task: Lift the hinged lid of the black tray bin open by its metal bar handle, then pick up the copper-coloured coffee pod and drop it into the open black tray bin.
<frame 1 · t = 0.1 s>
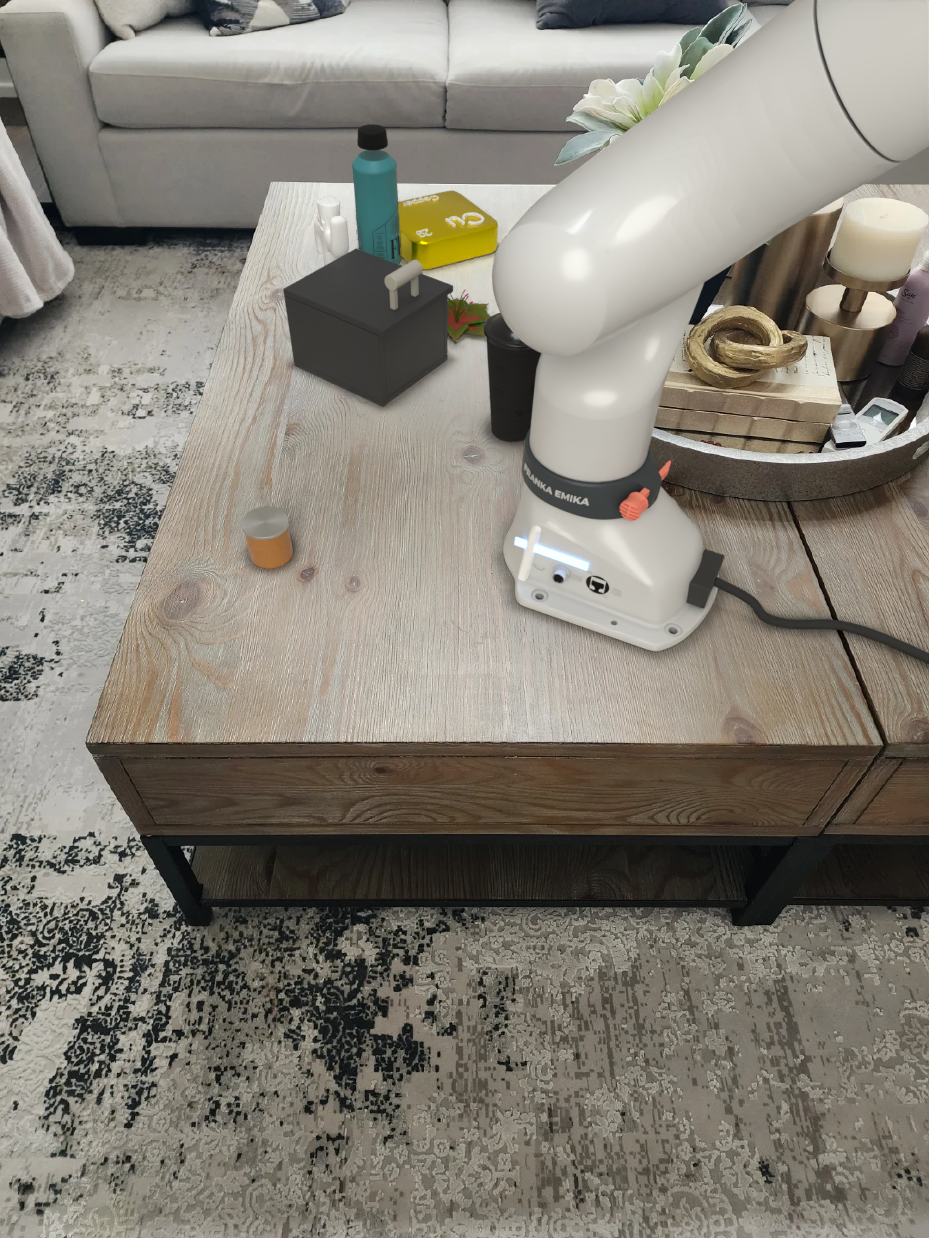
figurine: (338, 308, 122), on the table
lily flower: (456, 324, 120), on the table
drinking cup: (510, 431, 104), on the table
black tray bin: (371, 362, 112), on the table
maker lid: (367, 274, 103), point 12 cm above the table, hinge at 0.0°
beverage bottle: (380, 272, 129), on the table
element tile: (437, 243, 136), on the table
coffee pod: (271, 553, 88), on the table
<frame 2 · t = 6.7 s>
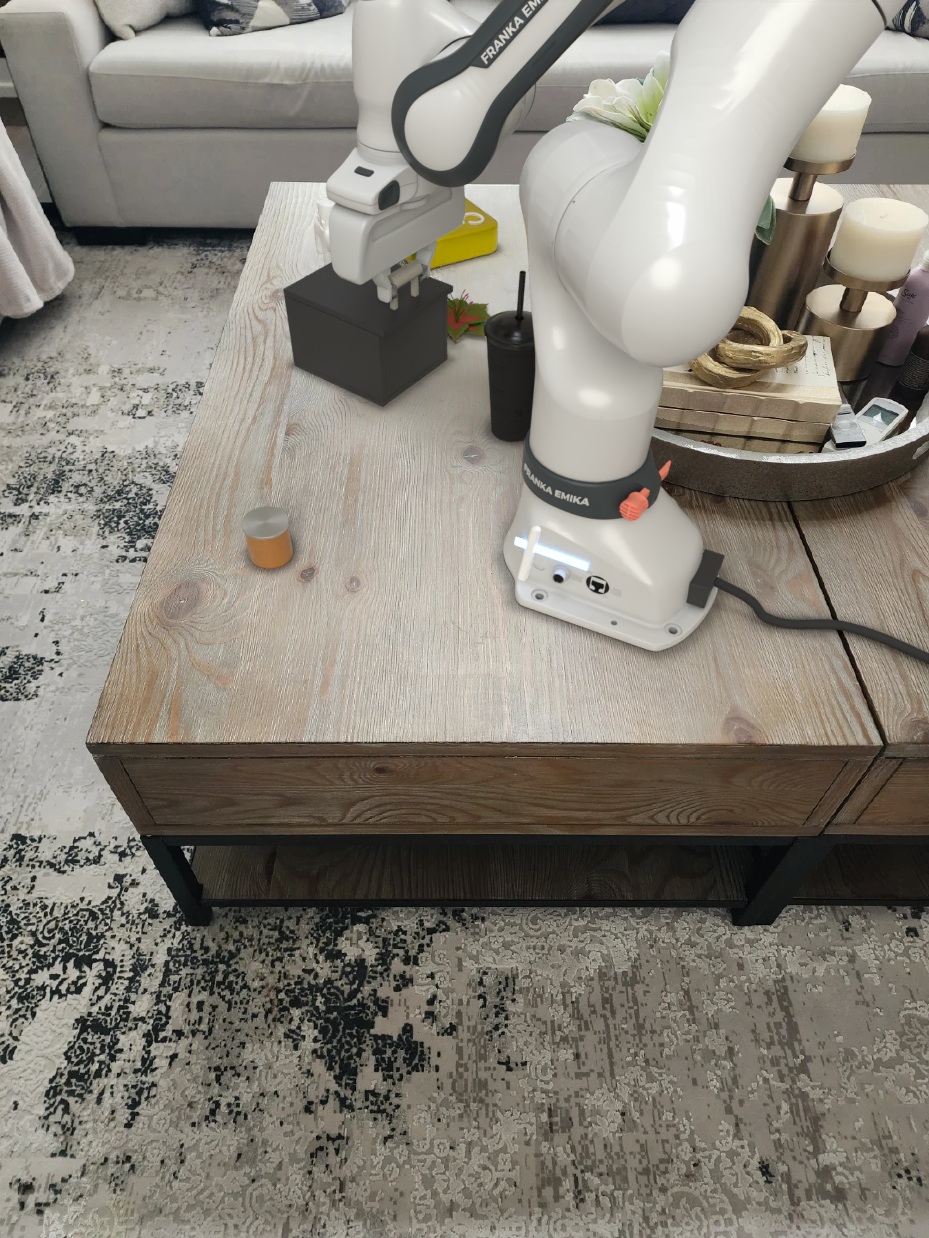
hand: (404, 289, 101), 12 cm above the table, tool pointing down, fingers closed on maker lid, 5 cm apart
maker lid: (367, 274, 103), point 12 cm above the table, hinge at 0.0°, touching gripper
everything else where it was.
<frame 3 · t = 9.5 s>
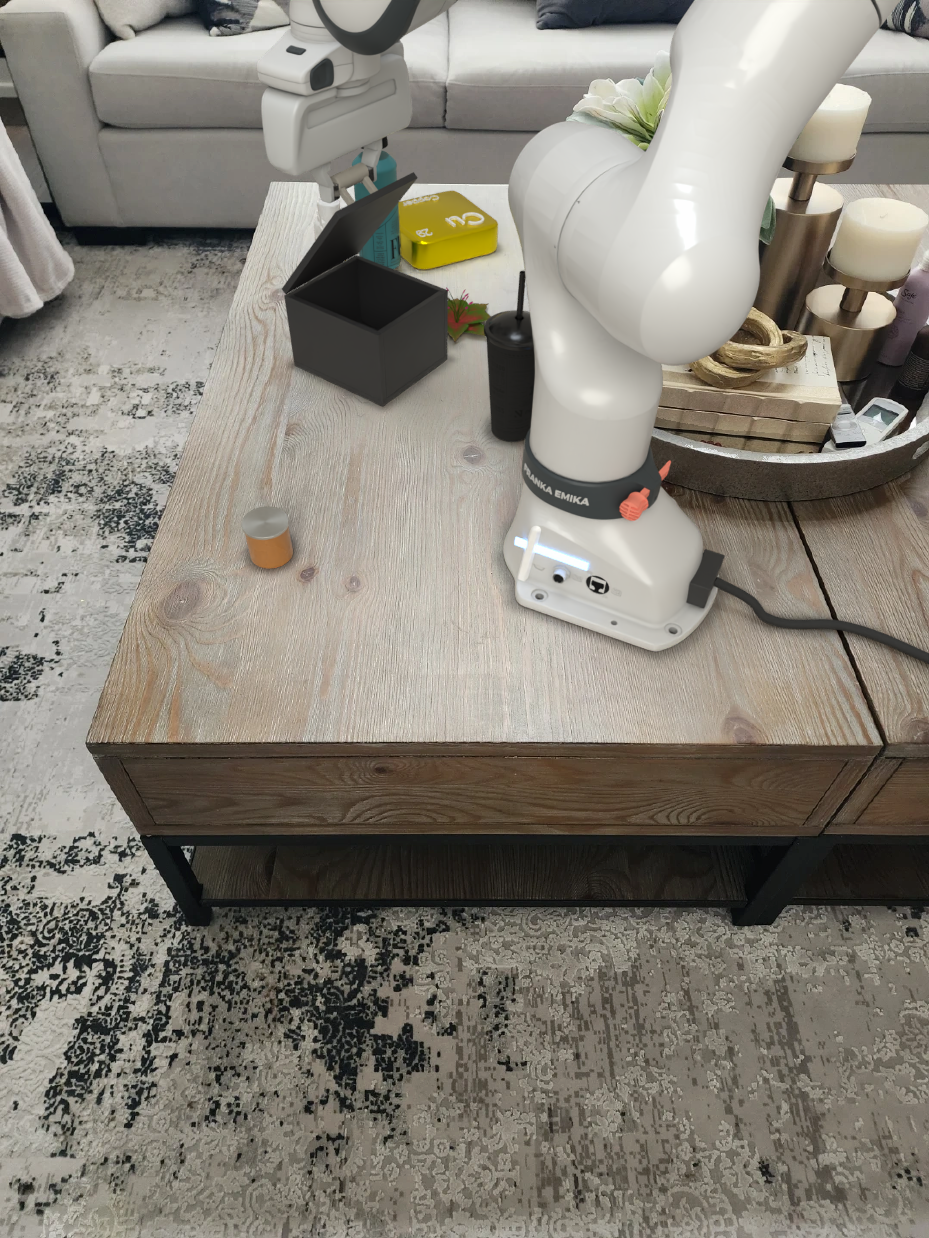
hand: (349, 191, 97), 22 cm above the table, tool pointing down, fingers closed on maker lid, 5 cm apart
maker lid: (336, 219, 101), point 18 cm above the table, hinge at 49.6°, touching gripper
everything else where it was.
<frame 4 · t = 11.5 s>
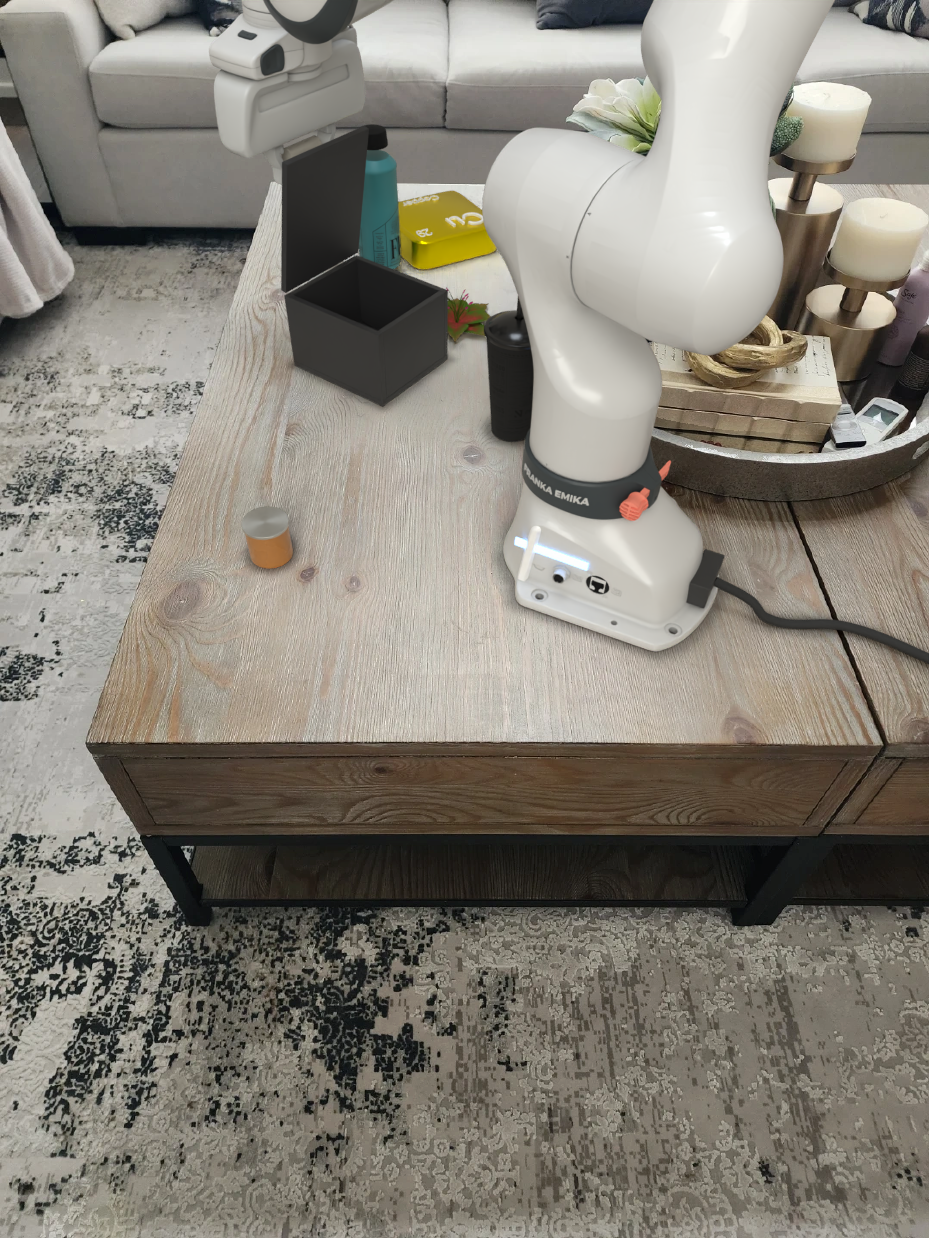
hand: (303, 173, 99), 22 cm above the table, tool pointing down, fingers closed on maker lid, 5 cm apart
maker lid: (310, 203, 102), point 18 cm above the table, hinge at 78.6°, touching gripper
everything else where it was.
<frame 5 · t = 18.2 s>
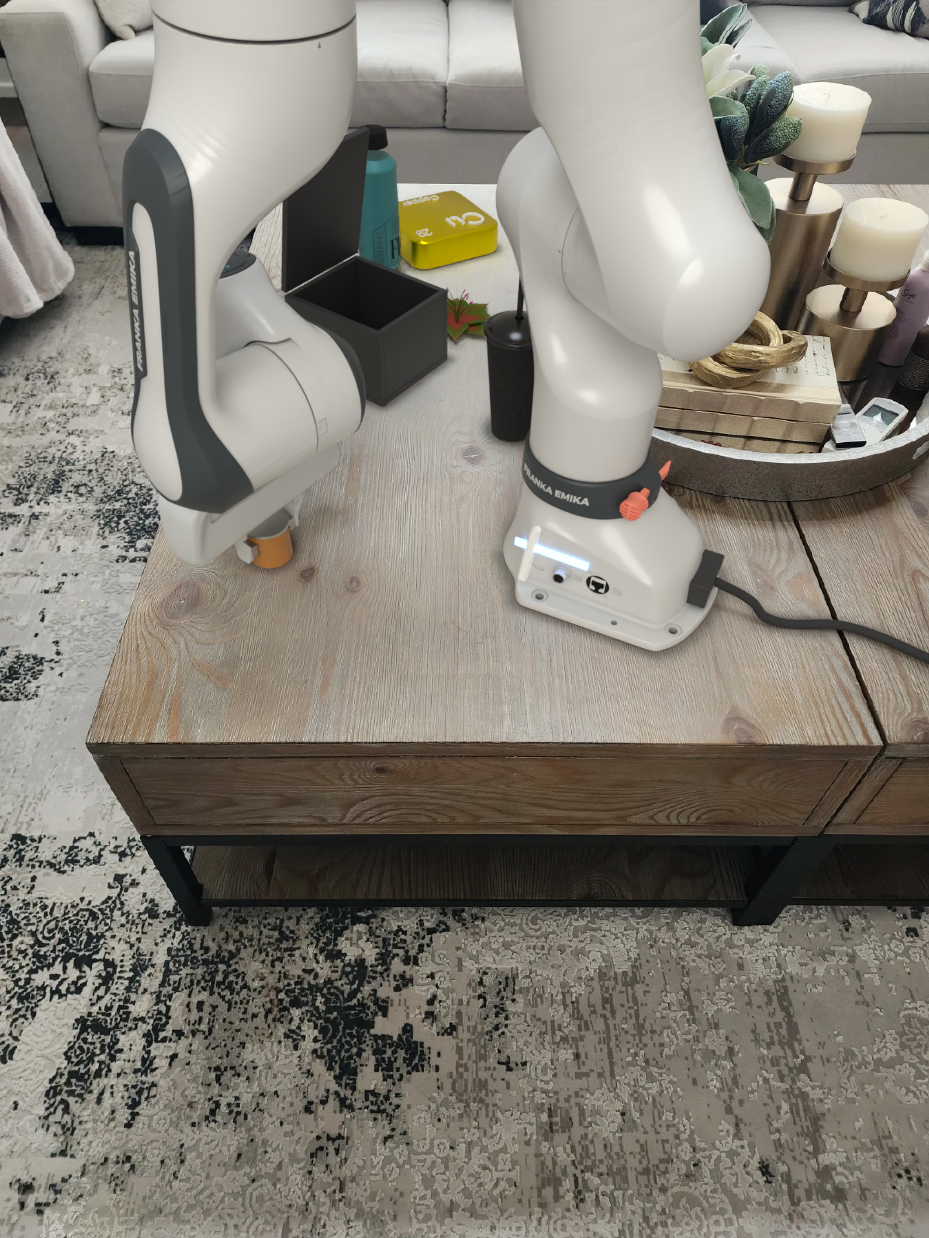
hand: (269, 542, 87), 2 cm above the table, tool pointing down, fingers closed on coffee pod, 4 cm apart
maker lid: (311, 203, 102), point 18 cm above the table, hinge at 78.1°
coffee pod: (271, 553, 88), on the table, touching gripper
everything else where it was.
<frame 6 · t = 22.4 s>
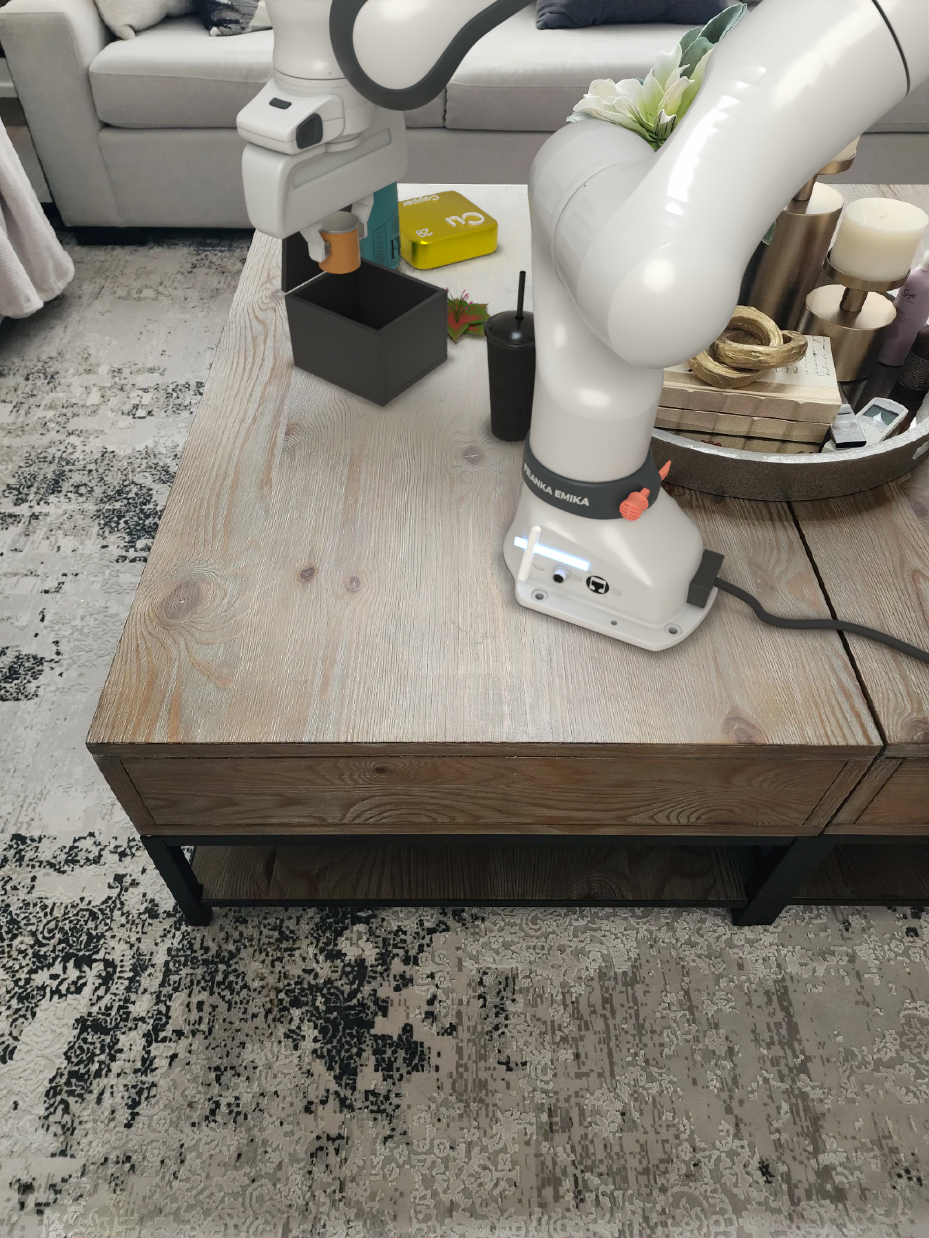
hand: (339, 248, 88), 21 cm above the table, tool pointing down, fingers closed on coffee pod, 4 cm apart
coffee pod: (339, 264, 90), point 20 cm above the table, touching gripper
everything else where it was.
when the fingers open (9 cm above the table, at t = 26.8 s): coffee pod drops 7 cm, resting on black tray bin.
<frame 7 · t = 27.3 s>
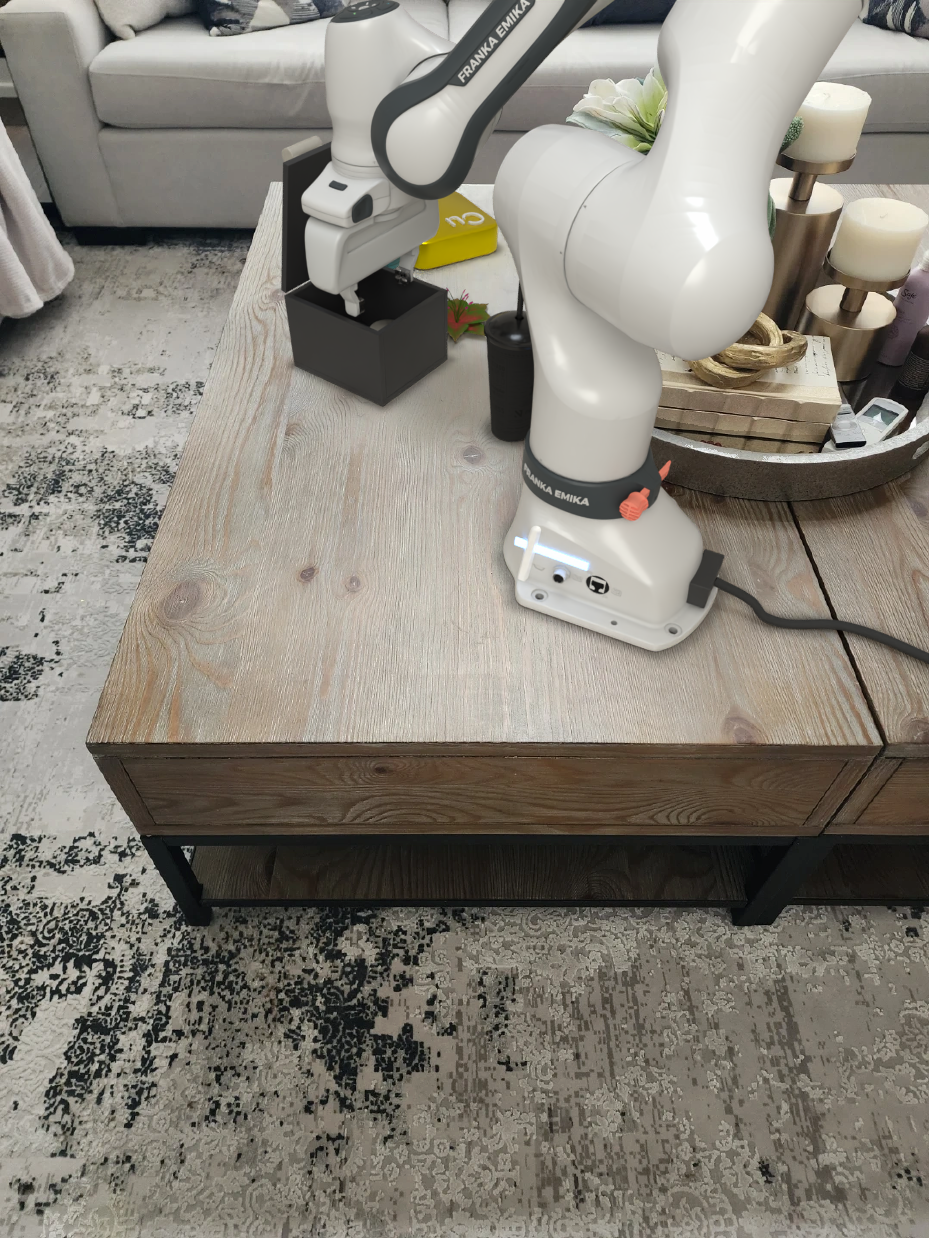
hand: (380, 297, 104), 10 cm above the table, tool pointing down, fingers open, 8 cm apart
coffee pod: (389, 360, 112), point 1 cm above the table, touching black tray bin
everything else where it was.
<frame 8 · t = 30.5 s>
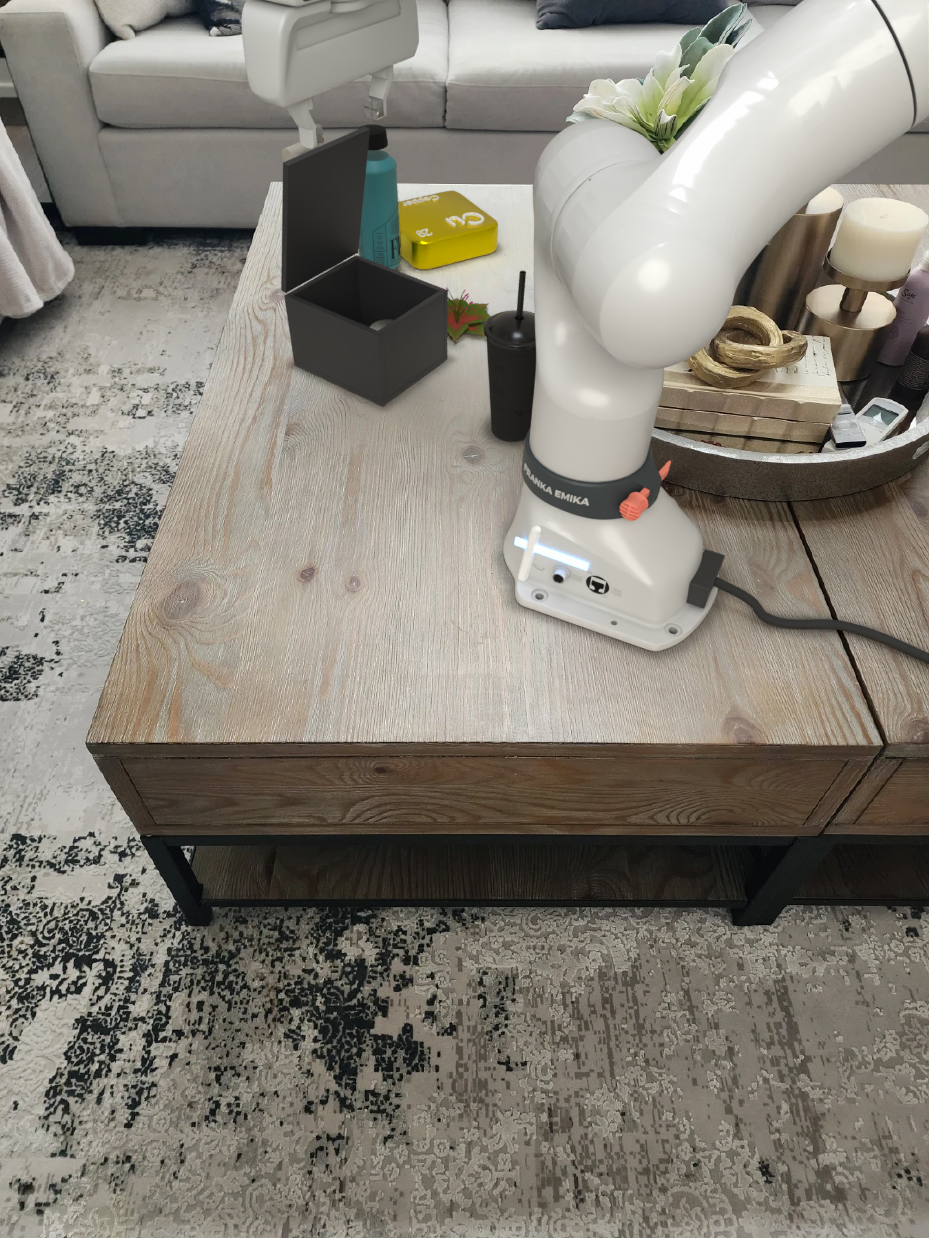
hand: (345, 131, 83), 31 cm above the table, tool pointing down, fingers open, 8 cm apart
nothing on the table moved.
at the end: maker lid at +78° (first picture: +0°); coffee pod inside the target area in the black tray bin (2.5 cm from its centre), point 0.8 cm above the black tray bin's base; the gripper is holding nothing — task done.
